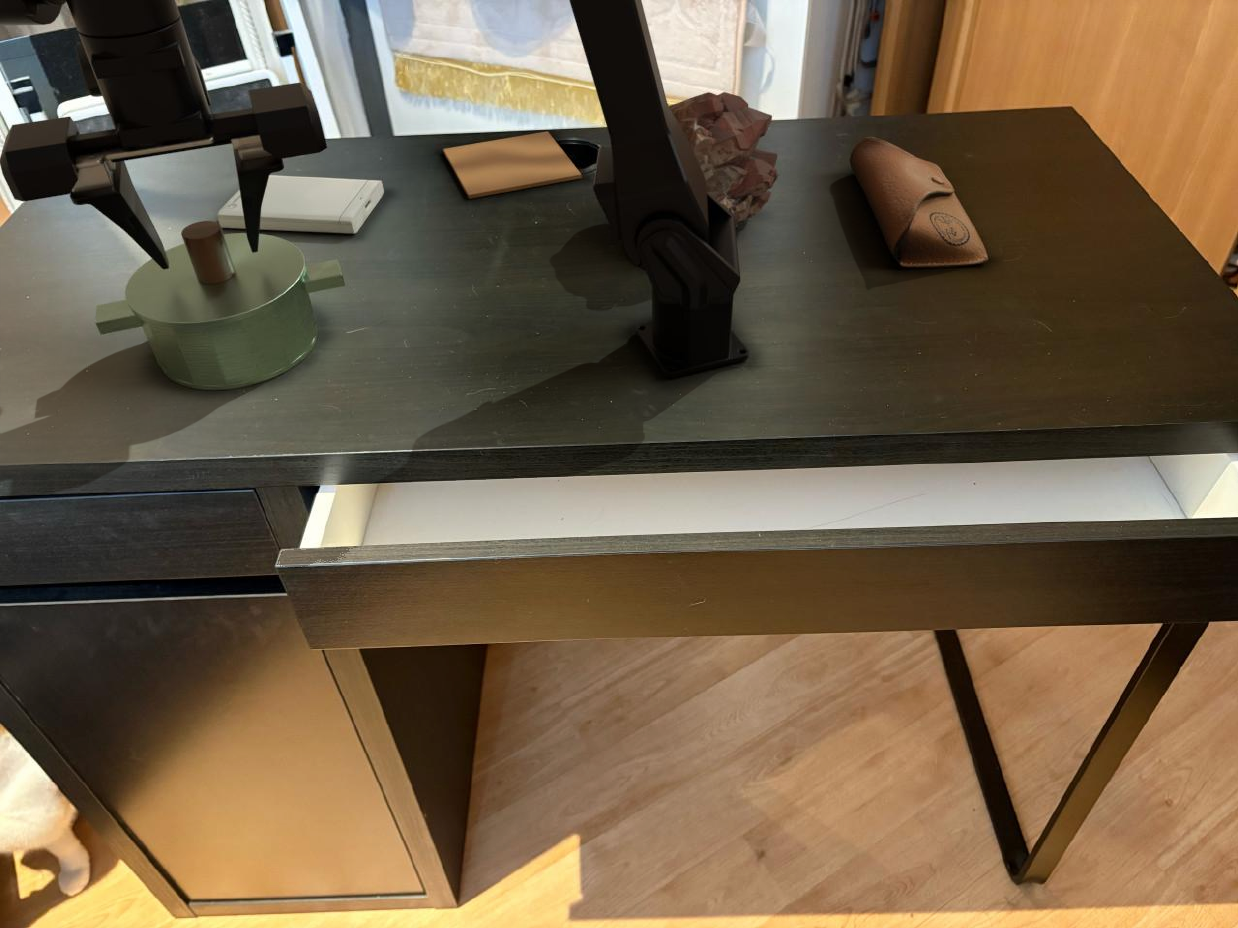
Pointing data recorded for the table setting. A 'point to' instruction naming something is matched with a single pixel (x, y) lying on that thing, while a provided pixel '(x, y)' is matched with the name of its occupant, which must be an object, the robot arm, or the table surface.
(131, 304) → the tin lid
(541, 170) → the coaster pad
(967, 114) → the table surface
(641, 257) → the robot arm
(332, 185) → the hard drive
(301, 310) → the green cooking pot
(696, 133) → the mineral specimen
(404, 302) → the table surface
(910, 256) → the sunglasses case
